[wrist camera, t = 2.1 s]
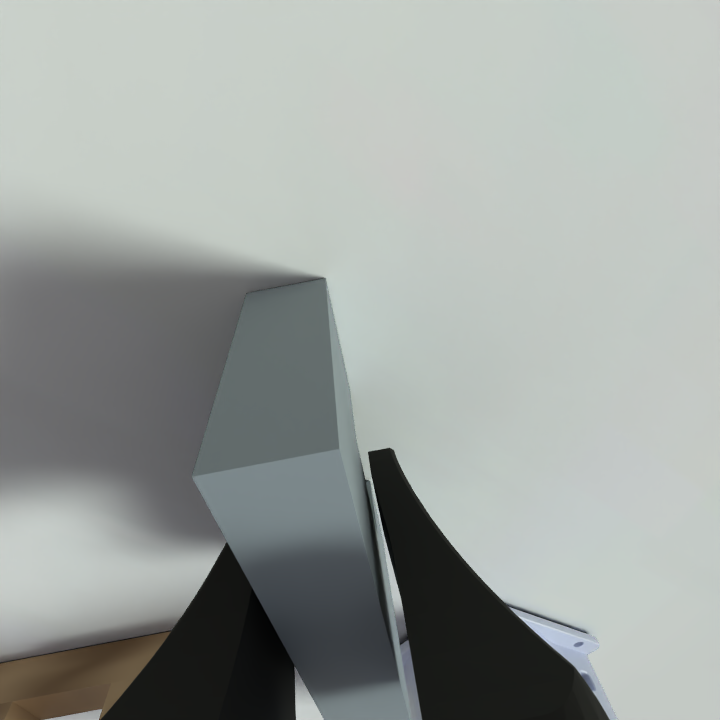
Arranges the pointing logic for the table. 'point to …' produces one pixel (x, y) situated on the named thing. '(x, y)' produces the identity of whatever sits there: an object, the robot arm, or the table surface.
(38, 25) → the table surface
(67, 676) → the notched walnut bar
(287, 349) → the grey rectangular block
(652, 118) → the table surface
